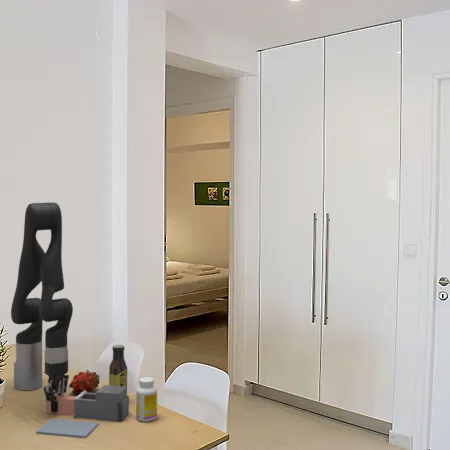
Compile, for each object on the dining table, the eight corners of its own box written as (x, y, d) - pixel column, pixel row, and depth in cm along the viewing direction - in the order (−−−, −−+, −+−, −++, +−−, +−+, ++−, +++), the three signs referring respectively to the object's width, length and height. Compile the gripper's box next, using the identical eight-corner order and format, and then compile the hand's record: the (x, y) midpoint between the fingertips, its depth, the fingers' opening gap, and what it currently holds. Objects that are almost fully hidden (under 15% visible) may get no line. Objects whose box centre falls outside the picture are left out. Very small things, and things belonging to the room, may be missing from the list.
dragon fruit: (102, 393, 211) (71, 405, 204) (93, 375, 216) (63, 386, 209) (105, 380, 206) (74, 391, 199) (96, 362, 211) (65, 372, 204)
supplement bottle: (160, 416, 186) (161, 378, 186) (149, 423, 180) (150, 384, 180) (143, 412, 189) (143, 375, 189) (132, 420, 183) (132, 381, 183)
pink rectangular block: (45, 412, 189) (45, 397, 189) (49, 408, 192) (49, 394, 191) (79, 415, 187) (79, 400, 186) (83, 411, 190) (83, 397, 189)
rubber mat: (36, 433, 172) (36, 431, 172) (51, 420, 182) (51, 418, 182) (85, 438, 170) (85, 436, 170) (99, 424, 179) (99, 422, 179)
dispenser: (74, 417, 185) (74, 390, 184) (83, 409, 191) (83, 383, 191) (121, 421, 182) (121, 394, 181) (128, 413, 189) (128, 386, 188)
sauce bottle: (123, 406, 194) (123, 349, 193) (105, 405, 196) (105, 348, 194) (130, 399, 201) (130, 344, 200) (113, 398, 202) (113, 343, 201)
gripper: (55, 352, 196) (56, 401, 197) (35, 364, 182) (35, 417, 183) (76, 353, 195) (76, 403, 196) (57, 366, 181) (57, 419, 182)
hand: (56, 409), depth 190 cm, fingers closed on pink rectangular block, 3 cm apart
